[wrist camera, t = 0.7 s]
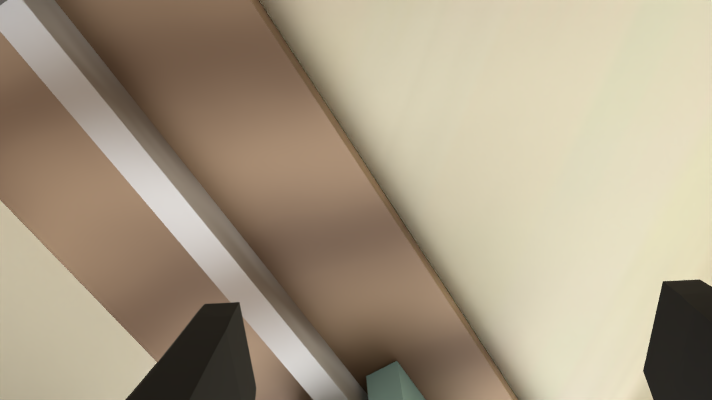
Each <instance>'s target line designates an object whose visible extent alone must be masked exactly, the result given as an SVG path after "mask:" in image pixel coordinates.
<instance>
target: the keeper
mask: <svg viewBox="0 0 712 400" xmlns="http://www.w3.org/2000/svg"><path fill="white" fill-rule="evenodd" d="M366 380H367V390H368V400H426V399H425V398H424V397H423V395H422V394H421V393H420V391H419V390H418V389H417V387H416V386H415V385H414V383H413V382H412V380H411V379H410V378H409V376H408V375H407V374H406V372H405V371H404V370H403V368H402V367H401V366H400V364H399V363H398V362H397V361H395V362H393V363H391V364H390V365H388V366H386V367H384V368H382V369H380V370H378V371H376V372H374V373H372V374H370V375H368V376H366Z"/></svg>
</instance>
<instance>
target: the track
mask: <svg viewBox="0 0 712 400" xmlns="http://www.w3.org/2000/svg"><path fill="white" fill-rule="evenodd" d="M0 200H1V201H2V202H3V203H4V204H5V205H6V206H7V207H8V208H9V209H10V210H11V211H12V212H13V213H14V215H15V216H16V217H17V218H18V219H19V220H20V221H21V222H22V223H23V224H24V225H25V226H26V227H27V228H28V229H29V230H30V231H31V232H32V233H33V234H34V235H35V236H36V237H37V238H38V239H39V240H40V241H41V242H42V243H43V245H44V246H45V247H46V248H47V249H48V250H49V251H50V252H51V253H52V254H53V255H54V256H55V257H56V258H57V259H58V260H59V261H60V262H61V263H62V264H63V265H64V266H65V267H66V268H67V269H68V270H69V271H70V272H71V273H72V275H73V276H74V277H75V278H76V279H77V280H78V281H79V282H80V283H81V284H82V285H83V286H84V287H85V288H86V289H87V290H88V291H89V292H90V293H91V294H92V295H93V296H94V297H95V298H96V299H97V300H98V301H99V302H100V303H101V305H102V306H103V307H104V308H105V309H106V310H107V311H108V312H109V313H110V314H111V315H112V316H113V317H114V318H115V319H116V320H117V321H118V322H119V323H120V324H121V325H122V326H123V327H124V328H125V329H126V330H127V331H128V332H129V333H130V335H131V336H132V337H133V338H134V339H135V340H136V341H137V342H138V343H139V344H140V345H141V346H142V347H143V348H144V349H145V350H146V351H147V352H148V353H149V354H150V355H151V356H152V357H153V358H154V359H155V360H156V361H157V362H158V361H159V360H160V358H161V357H162V356H163V355H164V353H165V352H166V351H167V350H168V349H169V347H170V346H171V345H172V344H173V342H174V341H175V340H176V338H177V337H178V336H179V335H180V333H181V332H182V331H183V330H184V328H185V327H186V326H187V324H188V323H189V322H190V321H191V319H192V318H193V317H194V316H195V314H196V313H197V312H198V311H199V309H200V308H201V307H202V306H203V305H204V304H211V303H232V302H240V307H241V312H242V317H243V322H244V327H245V332H246V337H247V343H248V348H249V353H250V358H251V363H252V368H253V373H254V378H255V383H256V397H255V400H368V390H367V380H366V376H368V375H370V374H372V373H374V372H376V371H378V370H380V369H382V368H384V367H386V366H388V365H390V364H391V363H393V362H395V361H397V362H398V363H399V364H400V366H401V367H402V368H403V370H404V371H405V372H406V374H407V375H408V376H409V378H410V379H411V380H412V382H413V383H414V385H415V386H416V387H417V389H418V390H419V391H420V393H421V394H422V395H423V397H424V398H425V399H426V400H518V399H517V397H516V396H515V394H514V393H513V391H512V390H511V388H510V387H509V385H508V383H507V382H506V380H505V379H504V377H503V376H502V374H501V373H500V371H499V370H498V368H497V367H496V365H495V363H494V362H493V360H492V359H491V357H490V356H489V354H488V353H487V351H486V350H485V348H484V347H483V345H482V343H481V342H480V340H479V339H478V337H477V336H476V334H475V333H474V331H473V330H472V328H471V327H470V325H469V323H468V322H467V320H466V319H465V317H464V316H463V314H462V313H461V311H460V310H459V308H458V307H457V305H456V303H455V302H454V300H453V299H452V297H451V296H450V294H449V293H448V291H447V290H446V288H445V286H444V285H443V283H442V282H441V280H440V279H439V277H438V276H437V274H436V273H435V271H434V270H433V268H432V266H431V265H430V263H429V262H428V260H427V259H426V257H425V256H424V254H423V253H422V251H421V250H420V248H419V246H418V245H417V243H416V242H415V240H414V239H413V237H412V236H411V234H410V233H409V231H408V230H407V228H406V226H405V225H404V223H403V222H402V220H401V219H400V217H399V216H398V214H397V213H396V211H395V210H394V208H393V206H392V205H391V203H390V202H389V200H388V199H387V197H386V196H385V194H384V193H383V191H382V190H381V188H380V186H379V185H378V183H377V182H376V180H375V179H374V177H373V176H372V174H371V173H370V171H369V170H368V168H367V166H366V165H365V163H364V162H363V160H362V159H361V157H360V156H359V154H358V153H357V151H356V150H355V148H354V146H353V145H352V143H351V142H350V140H349V139H348V137H347V136H346V134H345V133H344V131H343V130H342V128H341V126H340V125H339V123H338V122H337V120H336V119H335V117H334V116H333V114H332V113H331V111H330V110H329V108H328V106H327V105H326V103H325V102H324V100H323V99H322V97H321V96H320V94H319V93H318V91H317V90H316V88H315V86H314V85H313V83H312V82H311V80H310V79H309V77H308V76H307V74H306V73H305V71H304V70H303V68H302V66H301V65H300V63H299V62H298V60H297V59H296V57H295V56H294V54H293V53H292V51H291V49H290V48H289V46H288V45H287V43H286V42H285V40H284V39H283V37H282V36H281V34H280V33H279V31H278V29H277V28H276V26H275V25H274V23H273V22H272V20H271V19H270V17H269V16H268V14H267V13H266V11H265V9H264V8H263V6H262V5H261V3H260V2H259V0H0Z"/></svg>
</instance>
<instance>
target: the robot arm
mask: <svg viewBox="0 0 712 400" xmlns="http://www.w3.org/2000/svg"><path fill="white" fill-rule="evenodd" d="M643 371H644V374H645V377H646V380H647V383H648V385H649V388H650V391H651V394H652V397H653V399H654V400H712V287H711V286H709V285H708V284H706V283H705V282H703V281H701V280H683V281H663V284H662V288H661V293H660V297H659V302H658V306H657V311H656V315H655V320H654V324H653V329H652V334H651V338H650V343H649V347H648V352H647V356H646V361H645V365H644V370H643ZM255 397H256V383H255V378H254V373H253V368H252V363H251V358H250V353H249V348H248V343H247V337H246V332H245V327H244V322H243V317H242V312H241V307H240V302H232V303H211V304H204V305H203V306H202V307H201V308H200V309H199V311H198V312H197V313H196V314H195V316H194V317H193V318H192V319H191V321H190V322H189V323H188V324H187V326H186V327H185V328H184V330H183V331H182V332H181V333H180V335H179V336H178V337H177V338H176V340H175V341H174V342H173V344H172V345H171V346H170V347H169V349H168V350H167V351H166V352H165V353H164V355H163V356H162V357H161V358H160V360H159V361H158V362H157V363H156V365H155V366H154V367H153V368H152V369H151V370H150V372H149V373H148V374H147V375H146V376H145V378H144V379H143V380H142V381H141V382H140V383H139V385H138V386H137V387H136V388H135V389H134V391H133V392H132V393H131V394H130V395H129V396H128V397H127V399H126V400H255Z"/></svg>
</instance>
